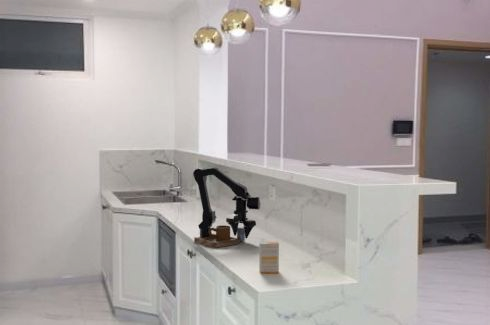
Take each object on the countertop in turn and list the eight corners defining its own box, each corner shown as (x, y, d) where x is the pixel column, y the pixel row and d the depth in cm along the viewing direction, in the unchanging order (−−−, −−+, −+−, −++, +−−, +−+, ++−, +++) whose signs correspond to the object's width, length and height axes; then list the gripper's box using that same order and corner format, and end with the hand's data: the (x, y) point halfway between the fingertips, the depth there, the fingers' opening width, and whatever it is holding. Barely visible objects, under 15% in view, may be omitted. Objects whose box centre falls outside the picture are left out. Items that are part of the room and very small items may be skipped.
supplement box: (277, 270, 246) (278, 241, 246) (278, 273, 242) (279, 243, 241) (258, 270, 246) (259, 241, 245) (259, 273, 241) (260, 243, 240)
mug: (210, 246, 292) (210, 228, 292) (206, 243, 299) (206, 226, 299) (232, 245, 296) (232, 227, 296) (227, 242, 303) (227, 225, 303)
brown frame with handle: (194, 241, 302) (194, 228, 301) (227, 236, 317) (227, 224, 317) (215, 247, 288) (215, 234, 288) (249, 241, 304) (249, 228, 303)
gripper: (218, 208, 307) (218, 236, 308) (241, 212, 293) (240, 241, 294) (234, 206, 314) (233, 233, 316) (256, 210, 301) (256, 239, 302)
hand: (240, 236), depth 307 cm, fingers open, 9 cm apart
